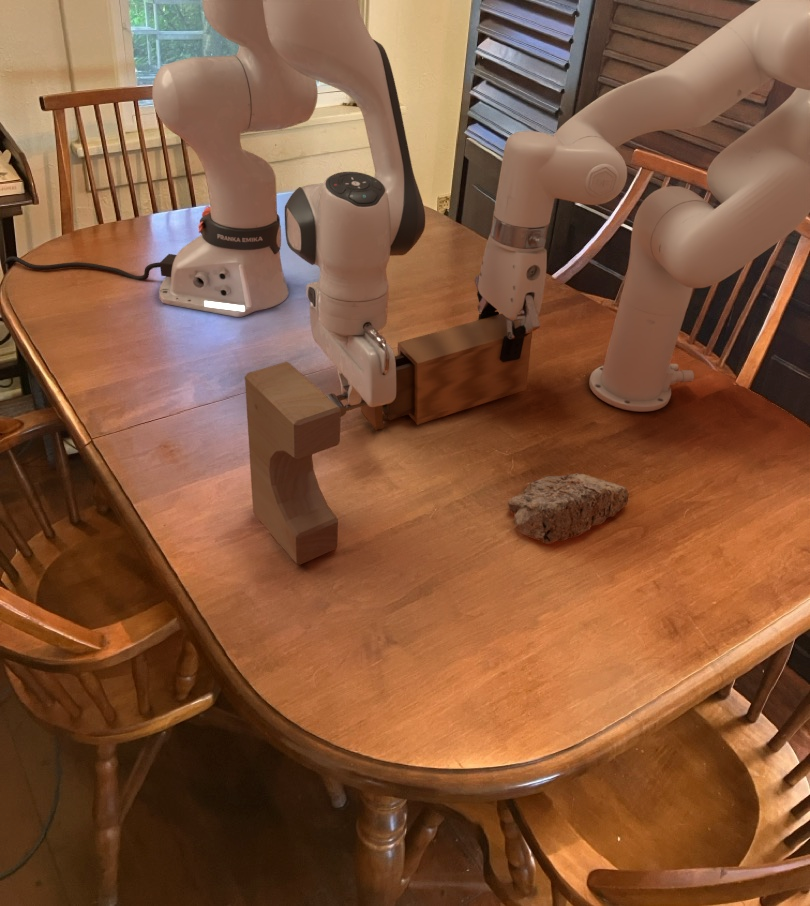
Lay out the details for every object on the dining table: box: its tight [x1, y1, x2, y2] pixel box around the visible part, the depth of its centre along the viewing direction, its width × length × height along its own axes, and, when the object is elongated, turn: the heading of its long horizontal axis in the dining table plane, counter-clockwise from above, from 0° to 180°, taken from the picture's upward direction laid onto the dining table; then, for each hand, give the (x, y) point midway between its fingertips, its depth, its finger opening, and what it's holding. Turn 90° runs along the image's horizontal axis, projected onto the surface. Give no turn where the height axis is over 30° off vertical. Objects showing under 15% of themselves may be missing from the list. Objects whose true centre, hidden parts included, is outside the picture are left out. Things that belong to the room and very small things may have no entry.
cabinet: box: [397, 313, 533, 426], centre depth 117 cm, size 19×6×10 cm, turn 117°
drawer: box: [326, 354, 415, 431], centre depth 114 cm, size 23×5×9 cm, turn 117°
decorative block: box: [244, 361, 341, 566], centre depth 89 cm, size 11×6×20 cm, turn 35°
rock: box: [507, 472, 630, 545], centre depth 100 cm, size 15×10×6 cm
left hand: (351, 399), depth 110 cm, fingers closed, pressing on drawer
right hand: (497, 347), depth 118 cm, fingers closed on cabinet, 6 cm apart
